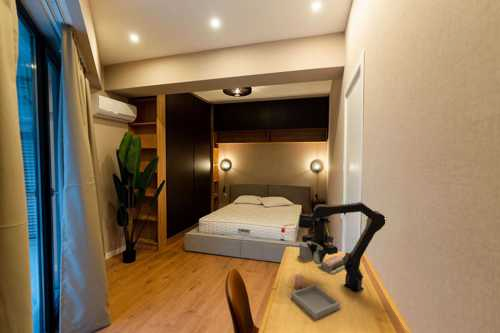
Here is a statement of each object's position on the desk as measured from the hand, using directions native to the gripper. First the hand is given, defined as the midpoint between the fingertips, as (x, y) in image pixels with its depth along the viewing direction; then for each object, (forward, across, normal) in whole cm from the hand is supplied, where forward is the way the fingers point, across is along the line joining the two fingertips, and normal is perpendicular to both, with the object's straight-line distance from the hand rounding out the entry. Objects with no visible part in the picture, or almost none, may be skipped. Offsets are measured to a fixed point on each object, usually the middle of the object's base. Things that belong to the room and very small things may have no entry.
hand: (317, 260), depth 106 cm
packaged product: (+11, +6, -20) cm, 24 cm away
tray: (+10, -12, +14) cm, 21 cm away
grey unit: (+10, +20, -15) cm, 27 cm away
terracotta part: (+10, 0, +12) cm, 16 cm away
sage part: (+1, 0, 0) cm, 1 cm away
